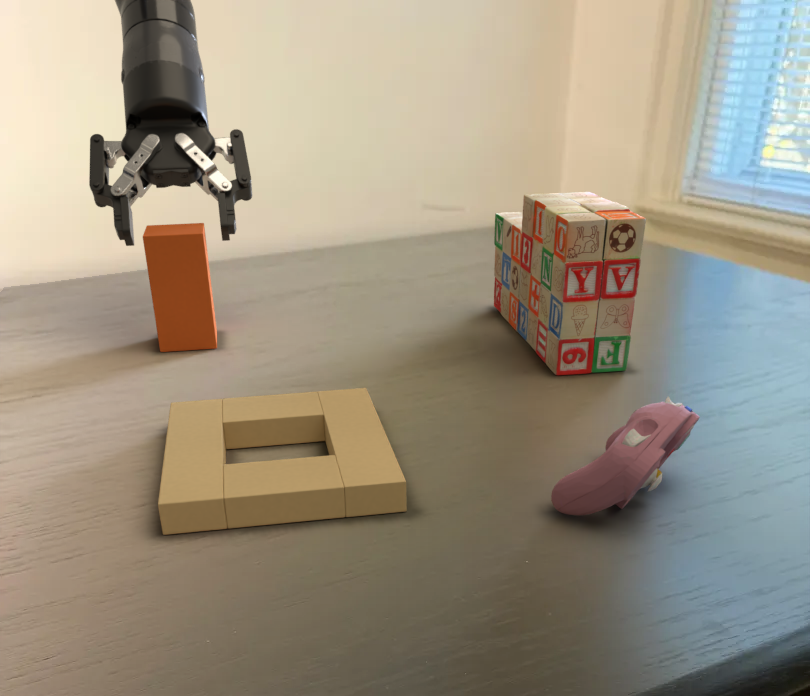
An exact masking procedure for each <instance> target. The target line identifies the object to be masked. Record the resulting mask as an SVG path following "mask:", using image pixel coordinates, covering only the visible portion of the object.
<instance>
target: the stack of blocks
mask: <svg viewBox="0 0 810 696" xmlns="http://www.w3.org/2000/svg"><path fill="white" fill-rule="evenodd" d="M522 200H523V202H522V211H510V212H496V213H495V215H494V237H493V238H494V239H493V243H494V246H495V247H494V248H495V249H494V268H493V269H494V271H493V273H494V274H493V275H494V283H493V284H494V287H493V307H494V308H495V309H496V310H497V311H498V312H499V313H500V315H501V316H502V317H503V319H505V321H506V322H508V324H509V325H510V326H511V327H512V328H513V330H515V332H516V333H518V334H519V335H520V336H521V338H522V339H523V340H524V341H525V342H526V343H527V344H528V345H529V346H530V347H531V348H532V349H533V350H534V351H535V353H536V355H537V356H538V357H539V358H540V359H541V360H542V362H544V364H545V365H546V366H547V368H549V370H550V371H551V372H552V373H553V374H554V375H555V376H569V375H570V376H571V375H582V374H591V373H593V374H595V373H610V372H625V371H626V370H628V369H627V368H628V361H629V355H630V347H631V340H632V335H631V331H632V325H633V319H634V310H635V301H636V296H637V294H638V288H639V287H638V286H639V278H640V271H641V270H640V269H641V264H642V263H641V262H642V260H641V257H642V252H643V251H642V250H643V245H644V244H643V243H644V237H645V231H646V230H645V229H646V222H647V218H646V217H644V216H642V215H640V214H638V213H635V212H633V211H631V208H630V207H628V206H626V205H624V204H622V203H619V202H617V201H612V200H610V199H607V198H605V197H602V196H600V195H598V194H595V193H593V192H591V191H576V192H575V191H574V192H558V193H557V192H556V193H555V192H554V193H531V194H523V199H522Z"/></svg>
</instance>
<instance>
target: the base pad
mask: <svg viewBox="0 0 810 696" xmlns="http://www.w3.org/2000/svg"><path fill="white" fill-rule="evenodd" d="M168 413H169V414H168V422H167V430H166V437H165V446H164V453H163V461H162V469H161V477H160V485H159V492H158V499H157V508H158V515H159V519H160V525H161V531H162V535H164V536H165V535H167V536H168V535H177V534H186V533H188V534H189V533H198V532H207V531H218V530H226V529H238V528H239V529H240V528H249V527H259V526H268V525H279V524H289V523H291V524H292V523H300V522H301V523H302V522H310V521H311V522H312V521H320V520H328V519H329V520H330V519H342V518H354V517H362V516H363V517H364V516H374V515H383V514H384V515H385V514H394V513H395V514H396V513H402V512H404V513H405V512H407V510H408V509H407V481H406V478H405V475H404V472H403V471H402V469H401V466H400V464H399V461H398V459H397V456H396V454H395V452H394V449H393V446H392V444H391V443H390V439H389V438H388V436H387V433H386V431H385V428H384V426H383V424H382V421H381V419H380V417H379V415H378V412H377V410H376V408H375V405H374V403H373V400H372V398H371V396H370V393H369V390H368V389H367V387H357V388H345V389H331V390H330V389H329V390H319V391H305V392H292V393H291V392H290V393H279V394H278V393H277V394H265V395H251V396H240V397H225V398H213V399H202V400H199V399H198V400H189V401H188V400H186V401H174V402H173V401H172V402H170V406H169V412H168ZM317 442H319V443H320V442H325V444H326V448H327V453H328V454H327V455H318V456H307V457H294V458H284V459H283V458H282V459H273V460H272V459H271V460H259V461H250V462H249V461H248V462H238V463H237V462H236V463H227V450H234V449H246V448H258V447H269V446H282V445H295V444H305V443H317Z"/></svg>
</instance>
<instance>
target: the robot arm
mask: <svg viewBox="0 0 810 696" xmlns="http://www.w3.org/2000/svg"><path fill="white" fill-rule="evenodd" d="M114 2H115V5H116V7H117V11H118V14H119V16H120V22H121V23H120V25H121V39H122V55H121V72H120V81H121V84H122V90H123V91H122V92H123V93H122V94H123V106H124V120H125V121H124V122H125V134H124V136H123V138H122V140H105V138H104V136H103V135H102V134H99V133H94V134H92V135H90V138H89V179H88V180H89V188H90V191H91V193H92V196H93V201H94V204H95V205H96V206H97V207H98V208H106V207H110V208H112V211H113V213H112V214H113V227H114V230H115V233H116V236H117V237H118V239H119V241H124V244H125V246H126V247H132V246H133V247H134V246H135V235H134V234H135V233H134V219H133V210H132V206H133V205H134V204H135V202H136V201H137V200H138V199H139V198H142V197H144V196H145V194H147V192H148V191H149V189H150V188H151V187H152V185H153V186H155V187H156V189H164V188H169V187H173V186H175V187H180V188H188V187H190V188H191V186H192V185H191V184H194V183H195V184H196V186H198V187H199V188H200V189H201V190H202V191H203V192H204V193H205V194H206V195H208V196H211V197H213V198H214V199H215V200H216V201H217V204H218V212H219V213H218V214H219V215H218V216H219V222H220V223H219V224H220V225H219V226H220V234H221V241H223V242H225V241H228V242H229V241H231V238H230V235H235V234H236V232H237V220H236V211H235V205H236V204H237V202H239V201H241V200H242V201H244V202H248V201H250V200H251V199H252V198H253V186H252V185H253V183H252V175H251V170H250V164H249V159H248V153H247V147H246V143H245V137H244V133H243V131H242V130H241V129H237V128H236V129H234V128H233V129H232V130H231V131H230V132H229V136H222V137H214V136H213V134H212V133H211V131H210V127H209V126H210V124H209V117H208V116H209V115H208V105H207V96H206V95H207V94H206V87H205V86H206V85H205V78H206V77H205V73H204V69H203V62H202V59H201V56H200V51H199V42H198V41H199V40H198V30H197V23H196V21H197V20H196V14H195V9H194V6H193V2H192V1H191V0H114ZM217 154H220V155H222V156H223V159H224V160H225V161H226V162H227V163H228V164H230V165H233V169H234V174H235V179H232V180H229V179H228V178H227V177H226V176H225V175H224V174H223V173H222V172H221V171H220V170H219V169H218V167H217V165H216V164H215V162H214V159H215V158H216V156H217ZM121 157H123V158H124V160H126V163H125V165H124V166H123V168H122V173H121V174H120V176H119V177H118V178H117V179H116V180H115V182H114V183H113V184H112V185H111V184H110V169H114V168H115V165H116V164H117V161H118V159H119V158H121Z"/></svg>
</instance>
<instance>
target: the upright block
mask: <svg viewBox="0 0 810 696" xmlns="http://www.w3.org/2000/svg"><path fill="white" fill-rule="evenodd" d="M142 241H143V248H144V255H145V262H146V268H147V275H148V280H149V288H150V293H151V301H152V307H153V313H154V314H153V315H154V320H155V325H156V334H157V340H158V345H159V352H160V353H169V352H183V351H198V350H199V351H200V350H213V349H214V350H215V349H218V330H217V329H218V328H217V320H216V312H215V304H214V295H213V286H212V278H211V269H210V263H209V253H208V245H207V244H208V243H207V236H206V230H205V223H204V222H195V223H194V222H193V223H192V222H191V223H172V224H170V223H169V224H150V225H149V224H148V225H146V226H145V229H144V231H143V235H142Z"/></svg>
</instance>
